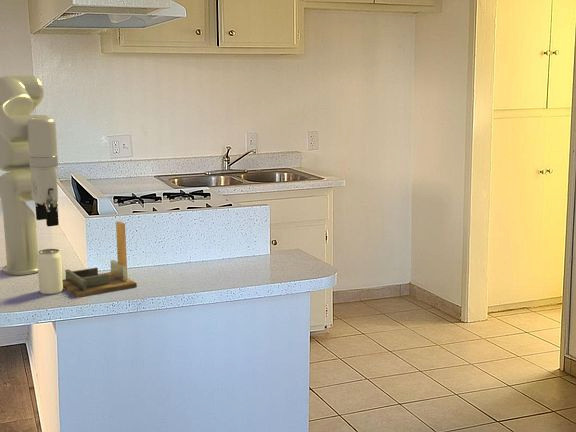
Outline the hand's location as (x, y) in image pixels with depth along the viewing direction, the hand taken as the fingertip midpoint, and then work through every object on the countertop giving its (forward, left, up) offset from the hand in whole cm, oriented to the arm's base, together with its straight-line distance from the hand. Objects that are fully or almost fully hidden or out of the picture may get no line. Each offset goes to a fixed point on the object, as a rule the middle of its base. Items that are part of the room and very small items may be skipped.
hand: (47, 222), depth 220 cm
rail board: (+2, +12, -20) cm, 24 cm away
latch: (+2, +20, -19) cm, 28 cm away
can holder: (+2, +10, -19) cm, 22 cm away
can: (0, 0, -21) cm, 20 cm away
